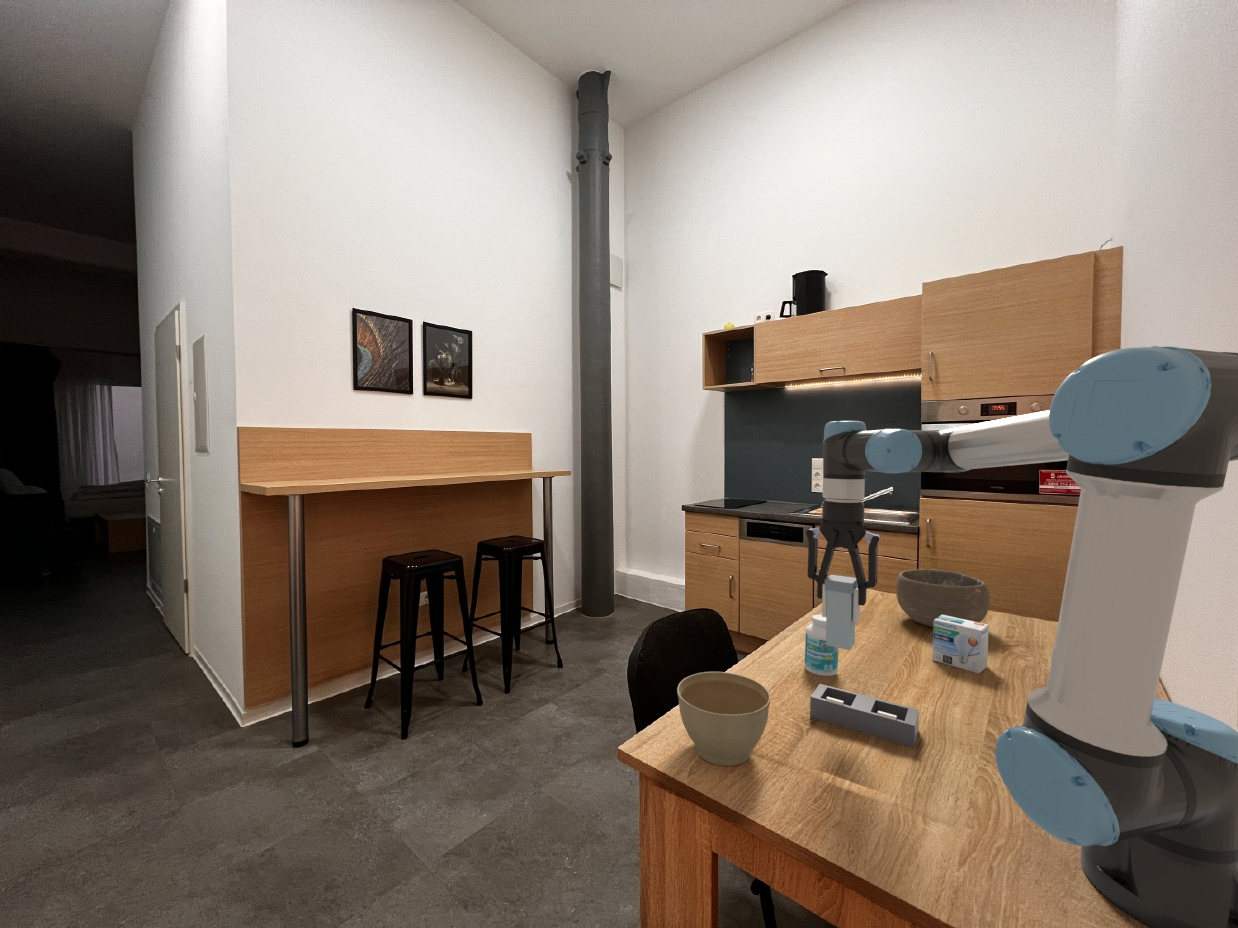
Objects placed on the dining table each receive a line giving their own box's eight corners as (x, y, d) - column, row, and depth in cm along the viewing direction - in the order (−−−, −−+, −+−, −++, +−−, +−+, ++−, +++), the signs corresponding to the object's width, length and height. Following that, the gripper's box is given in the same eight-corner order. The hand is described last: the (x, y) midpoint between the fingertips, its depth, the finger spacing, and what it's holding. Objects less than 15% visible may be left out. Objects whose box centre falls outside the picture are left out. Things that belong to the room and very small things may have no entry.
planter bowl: (705, 717, 103) (705, 663, 103) (783, 747, 93) (784, 688, 93) (658, 753, 91) (659, 693, 90) (743, 793, 81) (744, 725, 80)
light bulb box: (931, 660, 132) (932, 618, 132) (939, 653, 137) (941, 613, 137) (980, 674, 124) (982, 630, 124) (988, 666, 129) (989, 624, 129)
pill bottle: (802, 675, 123) (803, 619, 122) (806, 664, 129) (807, 610, 129) (836, 682, 119) (837, 624, 119) (839, 670, 126) (840, 615, 125)
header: (914, 753, 92) (915, 722, 91) (809, 721, 102) (810, 693, 102) (918, 735, 97) (919, 706, 97) (819, 707, 108) (819, 680, 107)
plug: (851, 651, 98) (852, 583, 98) (823, 645, 101) (825, 579, 101) (856, 643, 102) (857, 578, 102) (830, 637, 105) (831, 574, 105)
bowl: (913, 607, 176) (914, 564, 176) (999, 627, 158) (1000, 578, 157) (882, 622, 161) (883, 575, 161) (972, 646, 142) (974, 592, 142)
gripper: (897, 501, 99) (895, 622, 99) (801, 496, 109) (799, 605, 110) (892, 504, 93) (889, 633, 93) (790, 498, 103) (788, 614, 104)
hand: (840, 617), depth 101 cm, fingers closed on plug, 5 cm apart
